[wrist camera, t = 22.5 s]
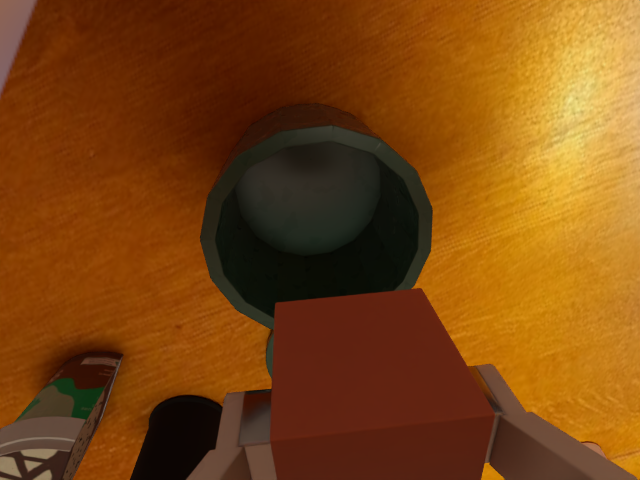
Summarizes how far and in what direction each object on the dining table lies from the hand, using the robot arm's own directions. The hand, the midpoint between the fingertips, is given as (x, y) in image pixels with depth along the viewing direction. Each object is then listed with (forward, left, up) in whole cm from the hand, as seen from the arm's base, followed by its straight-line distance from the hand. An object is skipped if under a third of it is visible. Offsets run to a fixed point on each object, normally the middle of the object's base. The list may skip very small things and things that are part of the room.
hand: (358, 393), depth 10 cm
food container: (-16, -25, -20) cm, 36 cm away
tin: (0, -1, -20) cm, 20 cm away
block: (0, 0, -2) cm, 2 cm away
